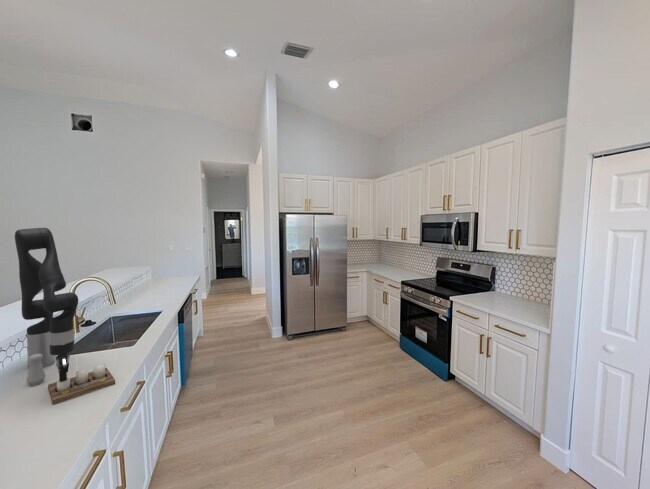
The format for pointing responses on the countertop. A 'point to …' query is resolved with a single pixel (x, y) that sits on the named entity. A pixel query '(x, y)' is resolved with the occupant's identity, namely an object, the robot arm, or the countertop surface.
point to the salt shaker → (35, 370)
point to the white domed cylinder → (63, 385)
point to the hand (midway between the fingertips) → (63, 380)
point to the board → (80, 387)
